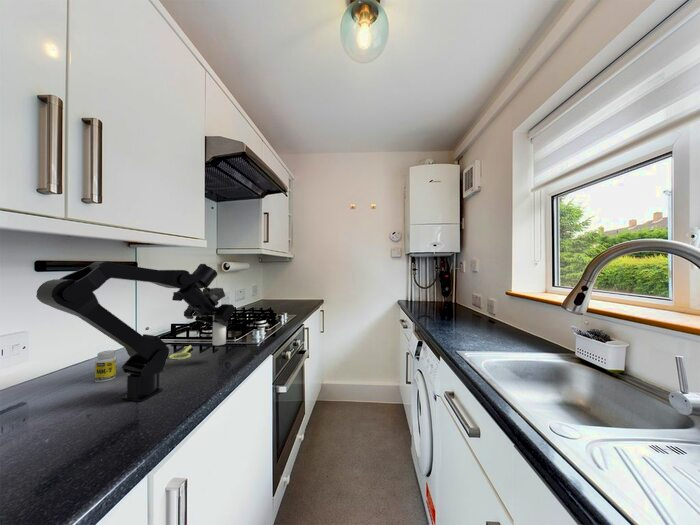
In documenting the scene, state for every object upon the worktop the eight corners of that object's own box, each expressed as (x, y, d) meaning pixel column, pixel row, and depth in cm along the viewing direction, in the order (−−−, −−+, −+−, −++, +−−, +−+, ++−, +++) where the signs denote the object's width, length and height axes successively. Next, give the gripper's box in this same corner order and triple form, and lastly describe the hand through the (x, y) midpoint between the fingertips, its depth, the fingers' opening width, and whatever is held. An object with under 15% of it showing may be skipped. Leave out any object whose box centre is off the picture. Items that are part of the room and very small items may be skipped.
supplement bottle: (92, 383, 77) (93, 355, 77) (97, 378, 81) (97, 351, 81) (114, 380, 79) (114, 352, 80) (117, 374, 83) (118, 348, 84)
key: (191, 349, 110) (191, 344, 110) (190, 358, 99) (190, 353, 99) (171, 352, 106) (171, 347, 106) (167, 362, 95) (167, 356, 95)
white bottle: (220, 345, 92) (221, 308, 92) (209, 345, 93) (210, 307, 93) (228, 342, 96) (228, 306, 96) (218, 341, 97) (218, 306, 97)
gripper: (231, 281, 88) (253, 308, 98) (191, 280, 94) (216, 305, 104) (211, 307, 80) (237, 334, 90) (170, 304, 87) (198, 329, 97)
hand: (222, 324), depth 96 cm, fingers closed on white bottle, 4 cm apart
